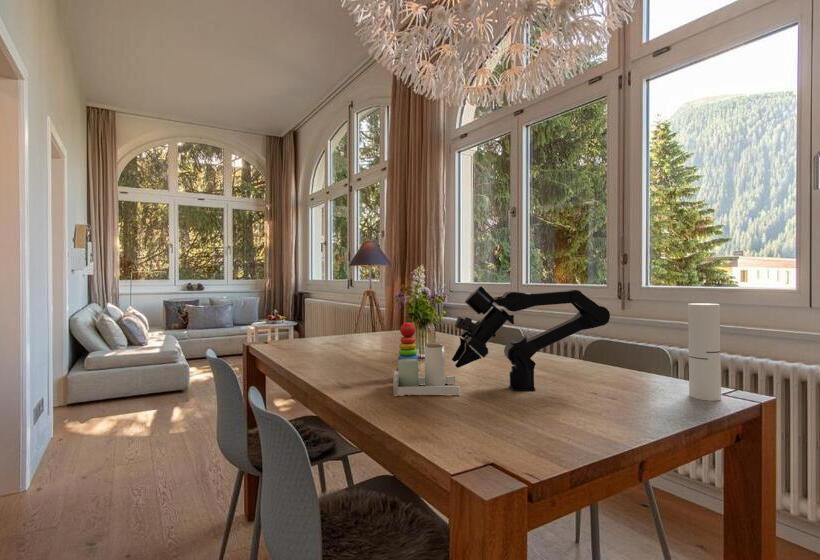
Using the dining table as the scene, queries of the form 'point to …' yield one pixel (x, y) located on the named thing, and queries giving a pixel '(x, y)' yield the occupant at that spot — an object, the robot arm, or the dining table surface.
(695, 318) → the cylindrical container
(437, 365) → the cream jar
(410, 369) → the grey-green cylinder
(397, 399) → the dining table surface
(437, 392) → the white u-shaped frame
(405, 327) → the stacking toy
